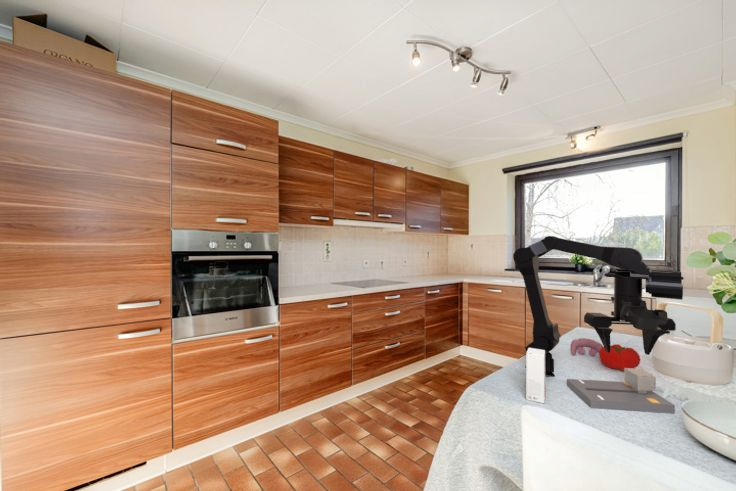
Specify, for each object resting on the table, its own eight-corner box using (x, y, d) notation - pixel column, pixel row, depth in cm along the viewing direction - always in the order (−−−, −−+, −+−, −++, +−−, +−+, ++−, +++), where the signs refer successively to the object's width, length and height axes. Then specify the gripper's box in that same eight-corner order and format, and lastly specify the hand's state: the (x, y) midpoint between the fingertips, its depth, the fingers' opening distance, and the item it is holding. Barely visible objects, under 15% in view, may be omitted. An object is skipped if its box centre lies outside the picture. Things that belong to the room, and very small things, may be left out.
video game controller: (604, 361, 109) (602, 341, 112) (605, 359, 106) (604, 339, 108) (570, 356, 114) (570, 337, 117) (571, 354, 111) (570, 335, 113)
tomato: (644, 368, 99) (644, 348, 99) (631, 376, 93) (631, 354, 93) (608, 359, 108) (607, 340, 108) (594, 366, 102) (593, 346, 102)
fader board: (590, 407, 75) (590, 399, 75) (567, 385, 87) (567, 378, 87) (674, 413, 73) (674, 404, 73) (638, 389, 84) (638, 382, 84)
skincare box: (545, 404, 77) (544, 356, 77) (526, 399, 80) (525, 353, 80) (546, 394, 83) (545, 349, 83) (528, 390, 85) (527, 347, 85)
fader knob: (637, 395, 77) (637, 375, 77) (624, 386, 82) (624, 368, 82) (655, 397, 76) (655, 376, 76) (641, 387, 81) (641, 368, 81)
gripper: (606, 299, 76) (606, 362, 76) (695, 301, 73) (694, 367, 73) (583, 292, 87) (582, 347, 87) (659, 294, 84) (658, 351, 84)
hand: (627, 353), depth 82 cm, fingers open, 9 cm apart
